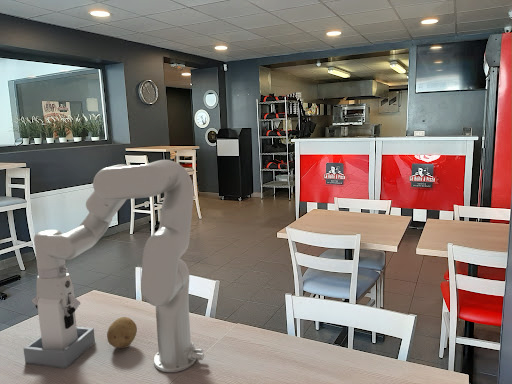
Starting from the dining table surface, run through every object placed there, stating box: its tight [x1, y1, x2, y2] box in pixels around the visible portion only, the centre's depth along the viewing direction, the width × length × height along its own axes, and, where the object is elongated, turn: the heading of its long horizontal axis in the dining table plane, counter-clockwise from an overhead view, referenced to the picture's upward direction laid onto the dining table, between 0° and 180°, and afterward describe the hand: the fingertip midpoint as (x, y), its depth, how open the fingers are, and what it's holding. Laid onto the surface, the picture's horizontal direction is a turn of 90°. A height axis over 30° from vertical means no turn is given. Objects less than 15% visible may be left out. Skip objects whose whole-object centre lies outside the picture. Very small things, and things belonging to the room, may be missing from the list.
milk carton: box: [37, 298, 78, 350], centre depth 122 cm, size 7×7×19 cm
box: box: [23, 326, 96, 369], centre depth 124 cm, size 14×14×5 cm
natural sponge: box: [106, 316, 138, 349], centre depth 125 cm, size 9×9×10 cm
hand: (58, 324), depth 122 cm, fingers closed on milk carton, 7 cm apart
